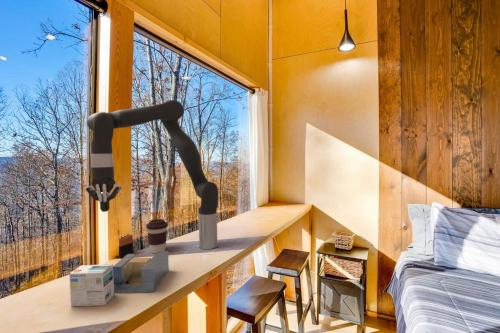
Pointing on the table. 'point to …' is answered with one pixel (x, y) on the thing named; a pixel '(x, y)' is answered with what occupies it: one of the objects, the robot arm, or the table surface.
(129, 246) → the battery
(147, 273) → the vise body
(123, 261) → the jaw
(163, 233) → the coffee cup
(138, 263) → the block
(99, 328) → the table surface
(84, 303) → the light bulb box
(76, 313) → the table surface
